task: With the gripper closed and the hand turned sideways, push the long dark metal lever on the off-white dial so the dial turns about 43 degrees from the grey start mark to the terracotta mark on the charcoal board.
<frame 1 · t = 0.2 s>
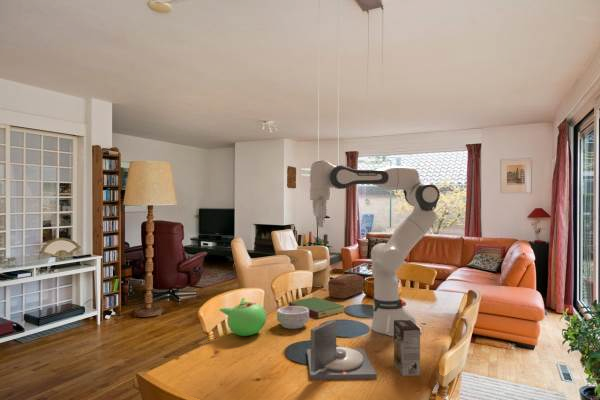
hand: (319, 226, 172), 48 cm above the table, tool pointing down, fingers open, 8 cm apart
dial: (333, 342, 133), point 9 cm above the table, hinge at 0.0°
green teapot: (246, 334, 167), on the table
hardcover book: (316, 311, 204), on the table
coffee box: (406, 370, 131), on the table
dial board: (339, 364, 135), on the table
bread: (346, 295, 239), on the table
paper bowls: (293, 326, 178), on the table
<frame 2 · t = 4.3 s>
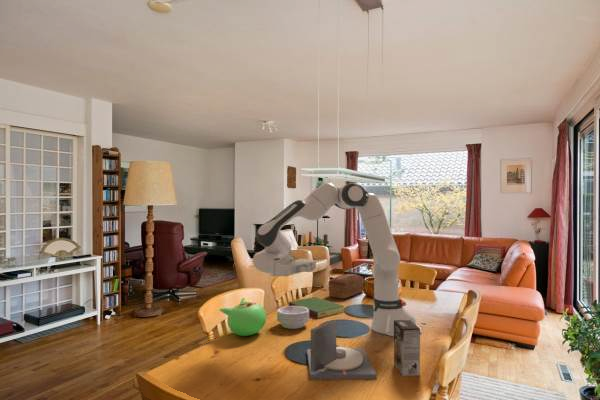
hand: (311, 269, 148), 32 cm above the table, tool horizontal, fingers closed
nothing on the table moved.
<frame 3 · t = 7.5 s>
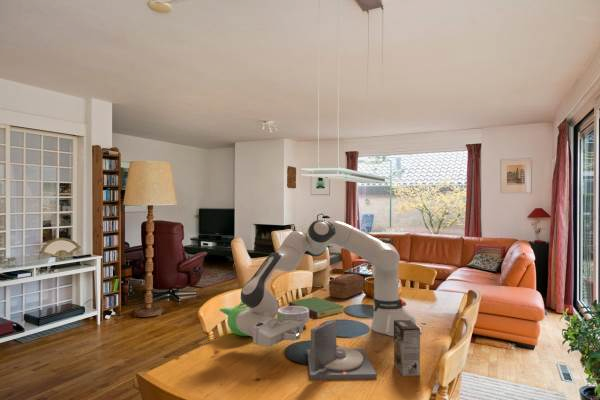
hand: (297, 337, 135), 10 cm above the table, tool horizontal, fingers closed
nothing on the table moved.
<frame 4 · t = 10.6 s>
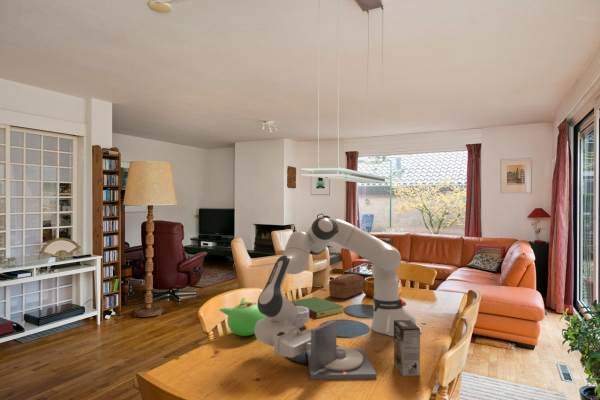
hand: (321, 347, 128), 9 cm above the table, tool horizontal, fingers closed, pressing on dial
dial: (333, 342, 133), point 9 cm above the table, hinge at 0.6°, touching gripper
everything else where it was.
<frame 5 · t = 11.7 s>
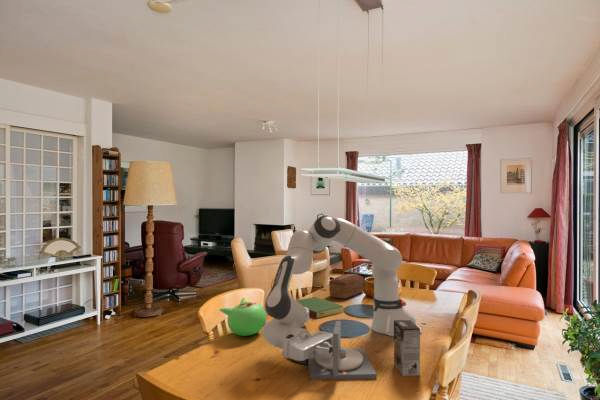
hand: (331, 350, 126), 9 cm above the table, tool horizontal, fingers closed
dial: (338, 342, 132), point 9 cm above the table, hinge at 28.4°, touching gripper
everything else where it was.
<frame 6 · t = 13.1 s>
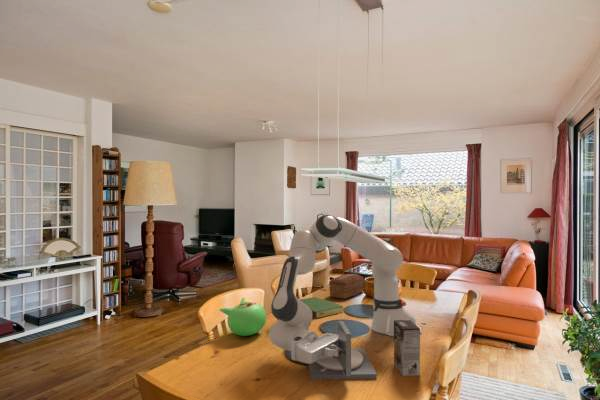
hand: (340, 352, 124), 9 cm above the table, tool horizontal, fingers closed
dial: (341, 343, 132), point 9 cm above the table, hinge at 43.2°, touching gripper
everything else where it was.
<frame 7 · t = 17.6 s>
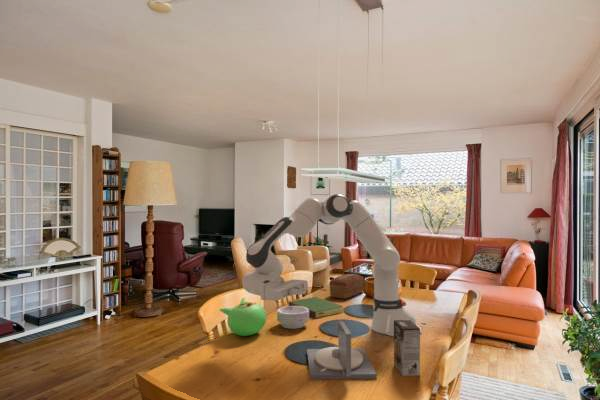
hand: (303, 292, 141), 25 cm above the table, tool horizontal, fingers closed
dial: (341, 343, 132), point 9 cm above the table, hinge at 43.3°
everything else where it was.
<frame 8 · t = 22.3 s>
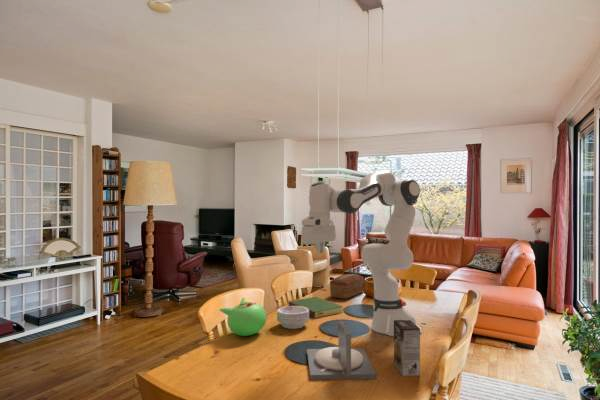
hand: (319, 253, 158), 37 cm above the table, tool pointing down, fingers closed
nothing on the table moved.
at the end: dial at +43° (first picture: +0°) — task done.
